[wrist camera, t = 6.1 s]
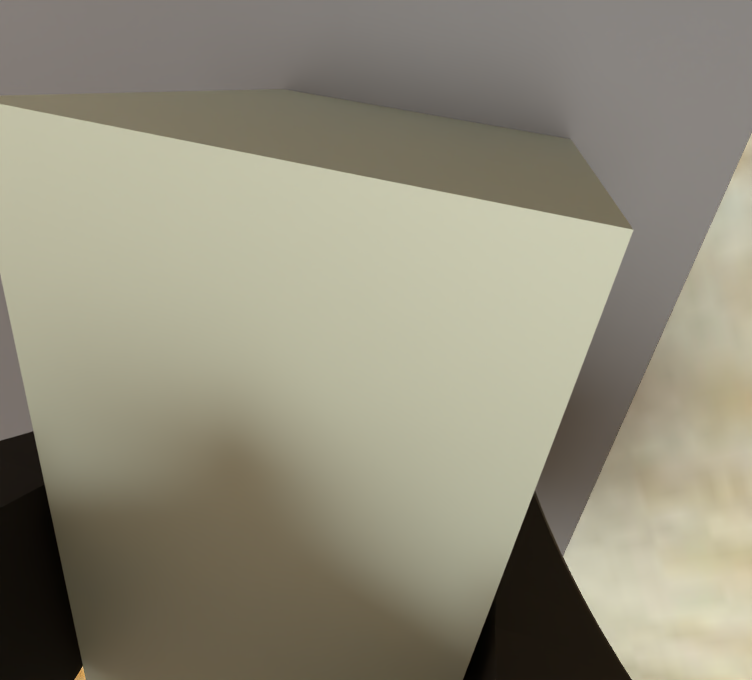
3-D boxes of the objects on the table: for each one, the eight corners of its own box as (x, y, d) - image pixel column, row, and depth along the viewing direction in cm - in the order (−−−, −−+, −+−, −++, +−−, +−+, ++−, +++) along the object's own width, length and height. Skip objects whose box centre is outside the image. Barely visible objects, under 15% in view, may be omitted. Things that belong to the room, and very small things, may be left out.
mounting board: (-95, 429, 19) (-132, 449, 18) (-347, -280, 11) (-443, -319, 10) (512, 631, 15) (511, 671, 14) (867, -210, 7) (926, -262, 6)
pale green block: (259, 552, 15) (112, 805, 10) (283, 89, 9) (-37, 95, 4) (430, 610, 14) (371, 920, 9) (570, 139, 8) (632, 229, 3)
